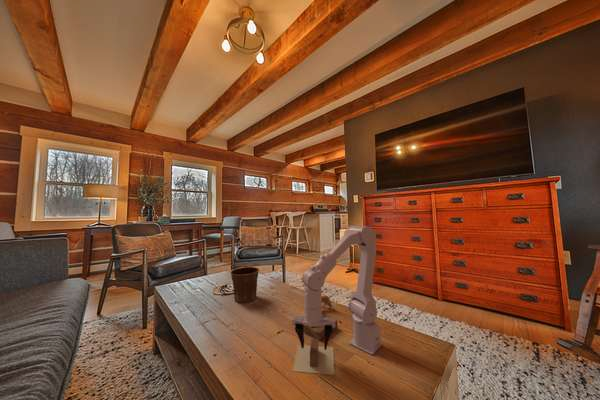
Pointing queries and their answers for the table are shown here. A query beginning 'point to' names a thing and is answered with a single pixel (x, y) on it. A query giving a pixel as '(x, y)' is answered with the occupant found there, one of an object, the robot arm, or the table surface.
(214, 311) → the table surface
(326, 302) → the lion figurine
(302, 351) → the lid
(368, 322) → the robot arm
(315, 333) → the wooden tray
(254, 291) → the plant pot
